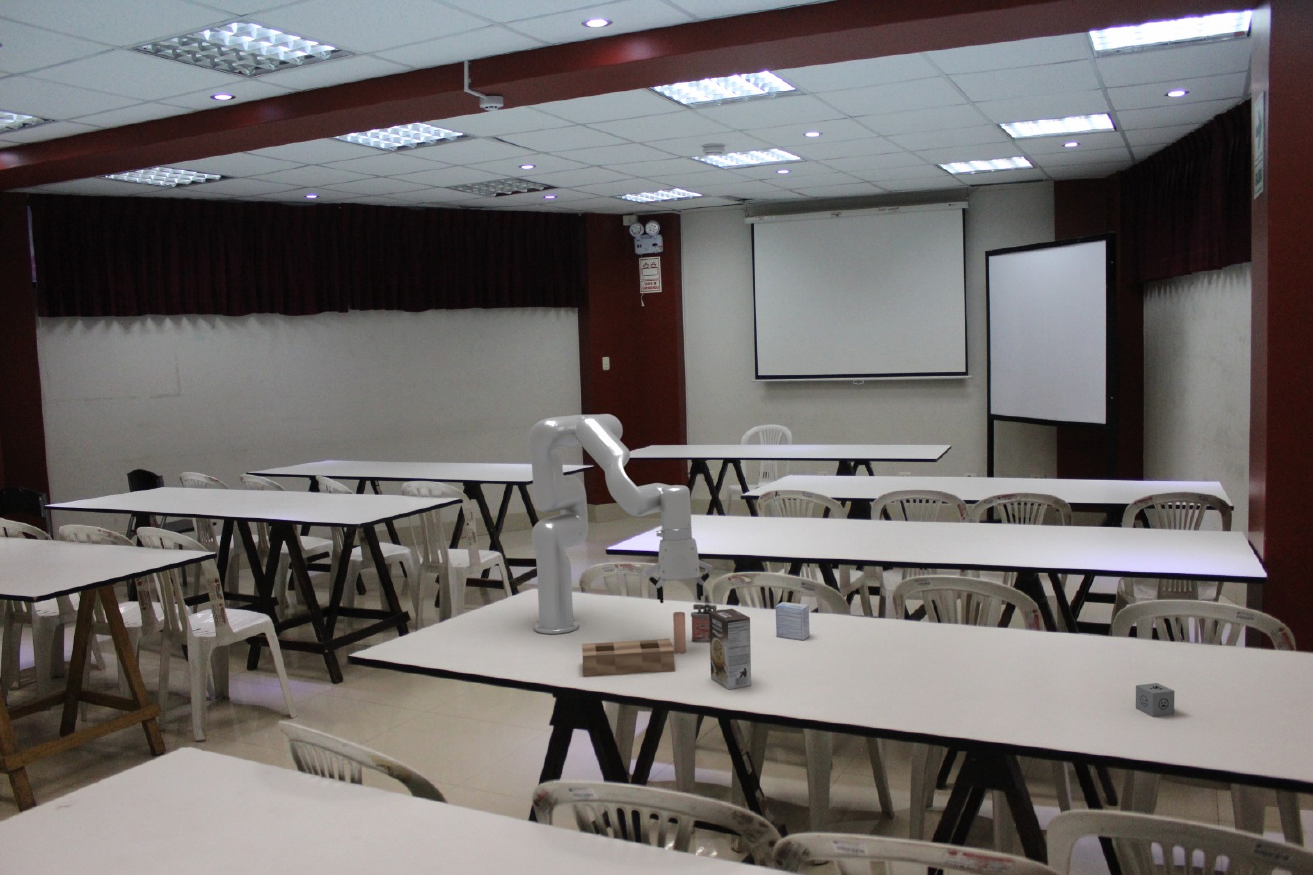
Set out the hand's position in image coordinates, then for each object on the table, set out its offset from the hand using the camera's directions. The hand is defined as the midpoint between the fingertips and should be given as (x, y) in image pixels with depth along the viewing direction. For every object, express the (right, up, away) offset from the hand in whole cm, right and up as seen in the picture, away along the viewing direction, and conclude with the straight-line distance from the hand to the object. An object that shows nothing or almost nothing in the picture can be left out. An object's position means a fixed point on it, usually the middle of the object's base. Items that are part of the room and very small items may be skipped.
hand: (680, 600), depth 248 cm
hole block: (-13, -15, -10) cm, 22 cm away
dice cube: (+96, -15, -49) cm, 109 cm away
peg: (0, -13, +1) cm, 13 cm away
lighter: (+7, -13, +10) cm, 18 cm away
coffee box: (+11, -15, -23) cm, 29 cm away
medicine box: (+30, -12, +11) cm, 34 cm away
